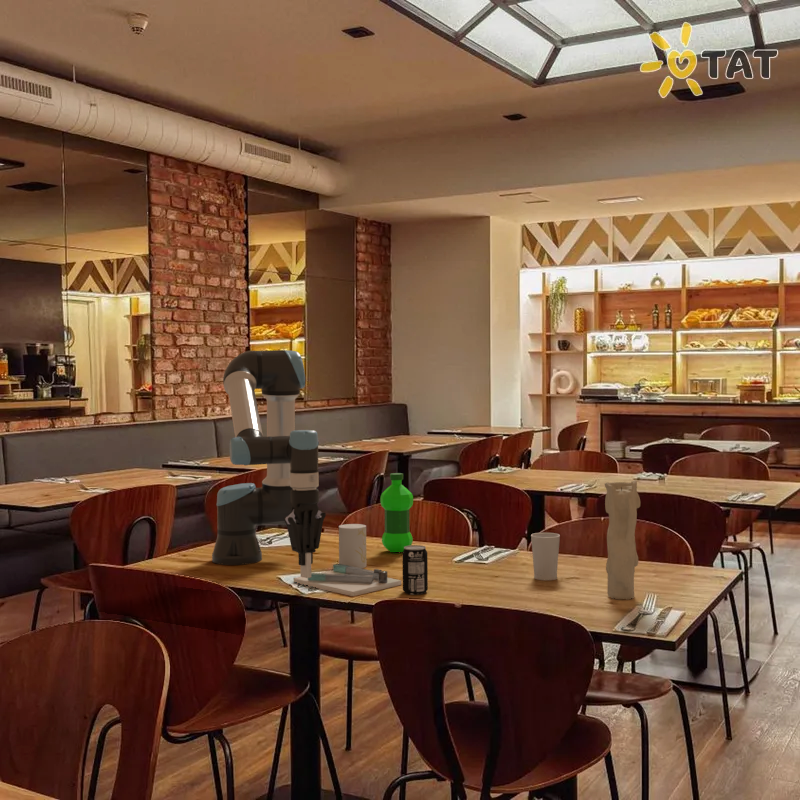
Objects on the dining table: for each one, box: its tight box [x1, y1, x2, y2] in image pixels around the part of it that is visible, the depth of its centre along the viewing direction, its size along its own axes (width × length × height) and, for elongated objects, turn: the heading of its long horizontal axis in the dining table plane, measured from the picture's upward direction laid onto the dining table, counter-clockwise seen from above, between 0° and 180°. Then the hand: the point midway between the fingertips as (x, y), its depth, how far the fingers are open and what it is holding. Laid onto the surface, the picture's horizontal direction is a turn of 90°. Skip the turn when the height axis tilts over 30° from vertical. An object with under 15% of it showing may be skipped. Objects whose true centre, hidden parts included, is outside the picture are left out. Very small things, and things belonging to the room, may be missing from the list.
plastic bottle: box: [379, 472, 414, 553], centre depth 314 cm, size 10×10×25 cm
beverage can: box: [401, 544, 429, 596], centre depth 258 cm, size 7×7×12 cm
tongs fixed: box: [332, 563, 389, 583], centre depth 272 cm, size 22×4×4 cm, turn 46°
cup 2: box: [530, 532, 561, 581], centre depth 274 cm, size 8×8×12 cm
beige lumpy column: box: [604, 479, 641, 600], centre depth 249 cm, size 9×8×30 cm
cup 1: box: [338, 523, 368, 569], centre depth 292 cm, size 8×8×12 cm
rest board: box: [293, 569, 402, 597], centre depth 269 cm, size 24×18×1 cm
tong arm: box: [308, 572, 374, 583], centre depth 266 cm, size 18×2×2 cm, turn 78°
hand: (305, 576), depth 261 cm, fingers closed
